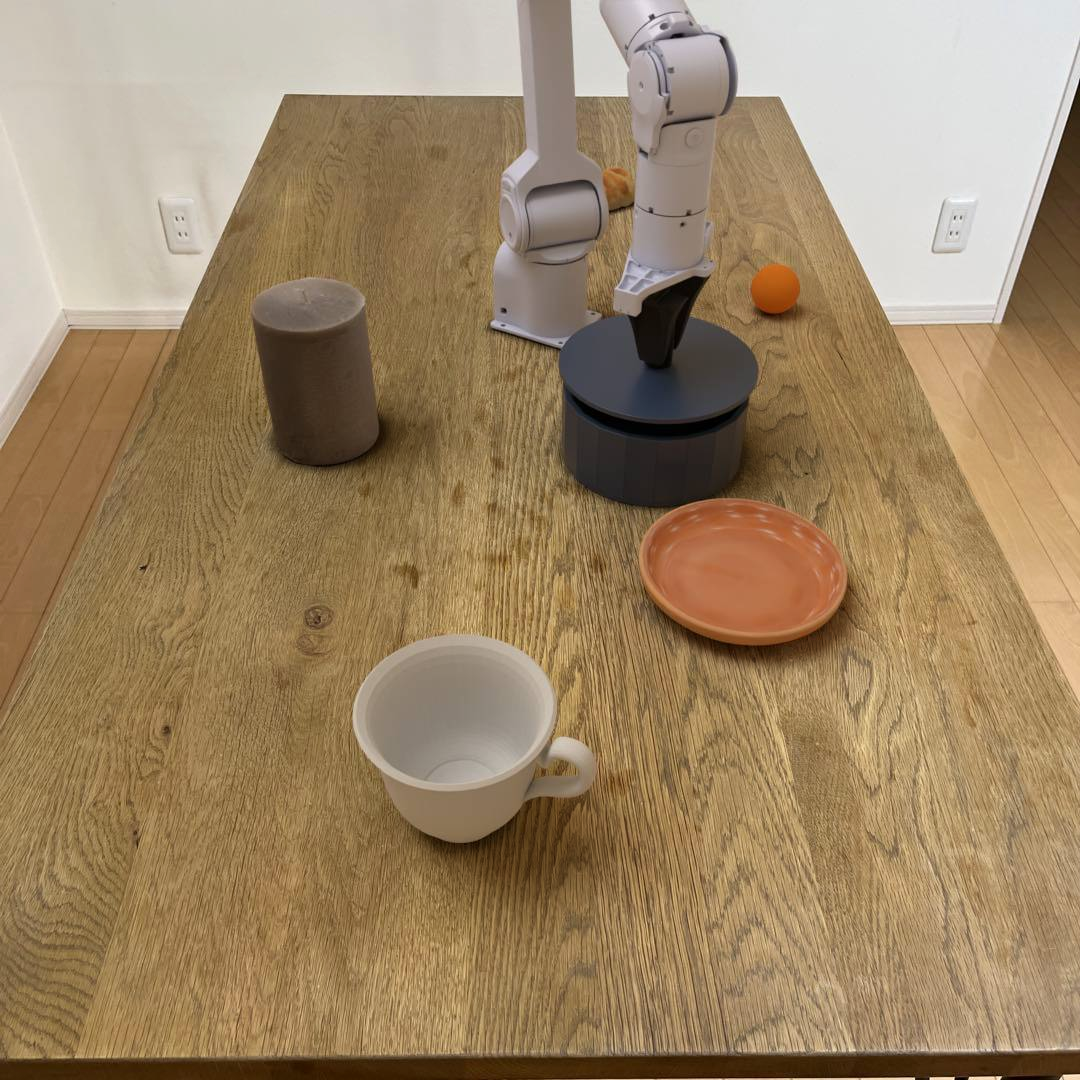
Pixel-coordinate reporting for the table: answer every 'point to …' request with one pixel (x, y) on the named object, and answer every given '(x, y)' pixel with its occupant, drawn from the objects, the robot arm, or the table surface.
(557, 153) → the robot arm
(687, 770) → the table surface
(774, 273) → the orange
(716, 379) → the lid
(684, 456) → the pot
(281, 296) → the pillar candle
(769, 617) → the saucer
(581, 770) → the teacup
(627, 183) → the pastry
